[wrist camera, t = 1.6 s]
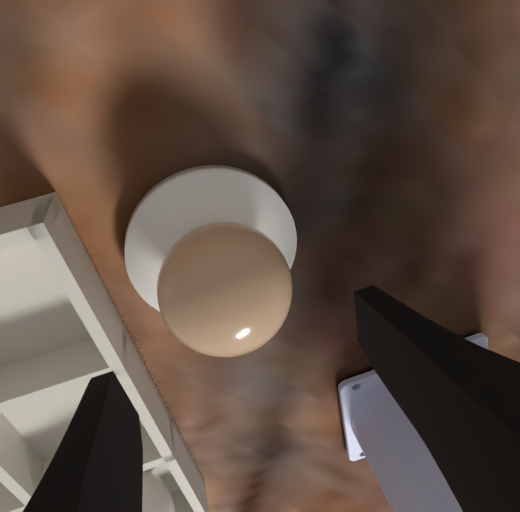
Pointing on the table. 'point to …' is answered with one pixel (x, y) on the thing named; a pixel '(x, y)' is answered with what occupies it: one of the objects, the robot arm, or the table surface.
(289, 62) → the table surface
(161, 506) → the white egg
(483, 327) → the table surface
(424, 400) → the robot arm
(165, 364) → the table surface
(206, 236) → the brown egg
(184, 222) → the saucer
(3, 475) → the egg carton
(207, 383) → the table surface
